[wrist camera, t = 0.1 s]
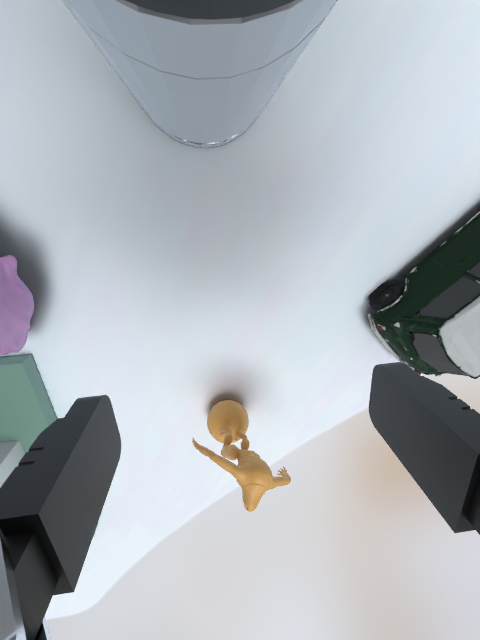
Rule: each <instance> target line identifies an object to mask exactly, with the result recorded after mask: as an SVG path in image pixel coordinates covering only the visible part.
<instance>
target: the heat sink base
mask: <svg viewBox="0 0 480 640" xmlns="http://www.w3.org/2000/svg"><path fill="white" fill-rule="evenodd" d="M56 420H57V417H56V415H55V412H54V410H53V407H52V404H51V402H50V399H49V397H48V394H47V392H46V389H45V387H44V384H43V381H42V379H41V376H40V374H39V371H38V369H37V366H36V364H35V361H34V358H33V356H32V354H28V355H18V356H8V357H0V488H1V486H2V485H3V483H4V482H5V481H6V479H7V478H8V477H9V475H10V474H11V473H12V471H13V470H14V468H15V467H18V465H19V462H20V460H21V459H22V457H23V456H24V455H25V453H26V452H29V448H30V446H31V445H32V444H33V442H34V441H35V440H36V438H37V437H38V436H39V434H40V433H41V432H42V431H43V430H45V429H46V428H47V427H48V426H49V425H51V424H52V423H53V422H54V421H56ZM97 524H98V523H97ZM96 527H97V526H96ZM95 531H96V529H95ZM94 534H95V532H94ZM93 536H94V535H93Z"/></svg>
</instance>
